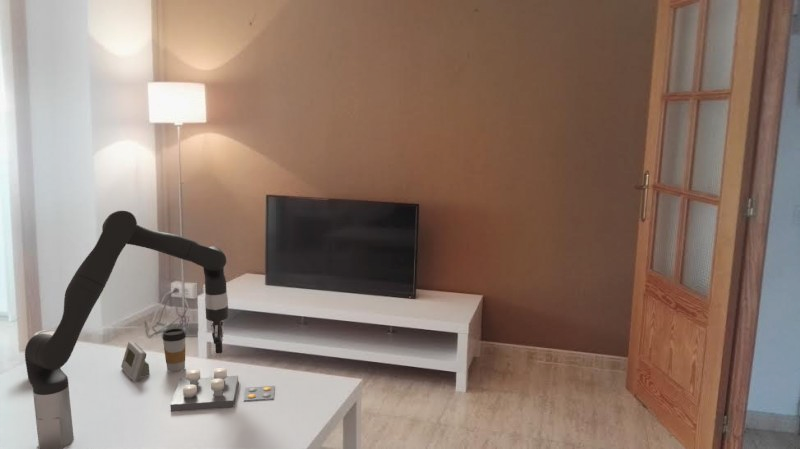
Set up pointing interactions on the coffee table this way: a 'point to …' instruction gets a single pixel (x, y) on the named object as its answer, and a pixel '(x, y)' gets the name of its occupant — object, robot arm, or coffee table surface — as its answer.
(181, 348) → the coffee cup
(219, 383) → the button
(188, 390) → the button
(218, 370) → the button
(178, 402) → the board
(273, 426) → the coffee table surface
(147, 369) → the digital clock
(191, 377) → the button
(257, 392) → the card
